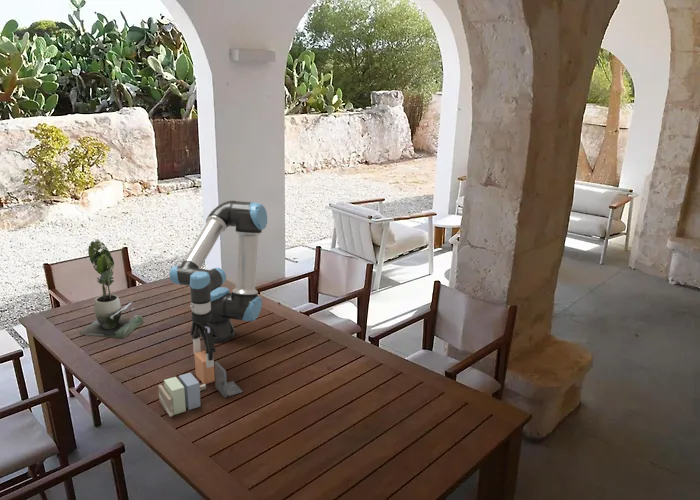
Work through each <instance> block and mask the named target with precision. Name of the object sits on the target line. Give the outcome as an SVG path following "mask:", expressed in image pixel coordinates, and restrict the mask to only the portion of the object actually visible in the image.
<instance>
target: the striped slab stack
mask: <svg viewBox="0 0 700 500" xmlns="http://www.w3.org/2000/svg"><path fill="white" fill-rule="evenodd" d="M199 386H200V392H201V391H204V390H205V391H206V390H207V384H203V383H202V384H199ZM157 387H158V388H157V389H158V398H159V399H158V400H159V403H160V405H161V406H162V407H163V409H164V411H166V413H167V414H168V417H173V416H174V414H173V404H172V398H171V397H170V395H169V394H168V393H167V391H166V390H165V389H164V385H162V384H159V385H157Z"/></svg>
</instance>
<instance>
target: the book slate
mask: <svg viewBox="0 0 700 500" xmlns="http://www.w3.org/2000/svg"><path fill="white" fill-rule="evenodd" d="M178 380H179V381H180V383H181V384H182V385H183V386H184V391H185V406H186V409H188V410H189V411H190V410H193V409H196V408H199V407H201V405H202V404H201V391H200V386H199V385H200V382H199V381H198V380H197V378H195V376H194V375H193V373H192V372H188V373H184V374H180V375H178Z"/></svg>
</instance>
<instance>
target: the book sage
mask: <svg viewBox="0 0 700 500" xmlns="http://www.w3.org/2000/svg"><path fill="white" fill-rule="evenodd" d="M163 387H164V389H165V390H166V391H167V393H168V394H169V395H170V397H171V398H172V404H173V416H174V415H178V414H181V413H184V412H186V411H187V407H186V405H185V391H184V386H183V385H182V384H181V383H180V381H179V378H177V376H173V377H169V378H167V379H163Z"/></svg>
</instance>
